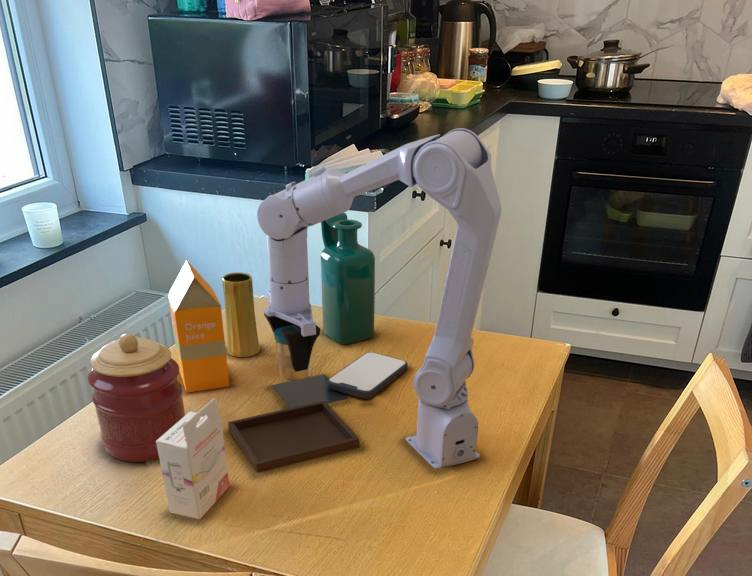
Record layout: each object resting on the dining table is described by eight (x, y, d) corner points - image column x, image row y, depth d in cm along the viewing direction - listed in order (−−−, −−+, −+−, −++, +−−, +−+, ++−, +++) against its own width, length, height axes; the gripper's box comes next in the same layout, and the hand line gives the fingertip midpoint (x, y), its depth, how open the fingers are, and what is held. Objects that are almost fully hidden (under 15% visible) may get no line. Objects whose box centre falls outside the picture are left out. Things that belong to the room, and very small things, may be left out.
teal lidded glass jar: (316, 376, 121) (315, 335, 117) (284, 383, 119) (281, 341, 115) (303, 363, 125) (301, 322, 121) (272, 369, 123) (269, 328, 119)
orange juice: (185, 392, 132) (168, 279, 121) (178, 371, 139) (162, 261, 128) (230, 386, 134) (218, 273, 123) (221, 365, 141) (209, 256, 130)
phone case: (367, 358, 144) (323, 389, 132) (367, 350, 143) (323, 380, 131) (410, 369, 141) (369, 402, 129) (410, 361, 140) (369, 393, 128)
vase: (257, 358, 144) (251, 283, 136) (225, 357, 144) (216, 283, 136) (262, 344, 149) (256, 271, 140) (230, 343, 149) (222, 271, 141)
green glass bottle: (378, 337, 152) (379, 223, 139) (341, 347, 148) (339, 230, 135) (351, 320, 158) (351, 210, 146) (316, 329, 155) (311, 217, 142)
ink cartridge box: (200, 481, 111) (186, 389, 102) (230, 488, 109) (220, 395, 101) (167, 515, 104) (150, 419, 95) (199, 523, 103) (185, 427, 94)
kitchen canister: (85, 445, 118) (59, 337, 108) (152, 412, 127) (133, 309, 117) (140, 474, 112) (118, 362, 102) (207, 437, 120) (192, 331, 110)
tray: (359, 449, 118) (359, 438, 117) (257, 475, 112) (256, 464, 111) (324, 410, 128) (324, 400, 127) (229, 432, 122) (227, 421, 121)
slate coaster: (347, 401, 130) (347, 398, 130) (292, 413, 127) (292, 410, 126) (324, 376, 138) (324, 373, 137) (271, 388, 134) (271, 385, 134)
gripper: (246, 266, 117) (253, 349, 125) (281, 298, 106) (286, 386, 114) (290, 259, 120) (294, 341, 127) (328, 290, 109) (330, 377, 117)
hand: (293, 362), depth 121 cm, fingers closed on teal lidded glass jar, 5 cm apart
